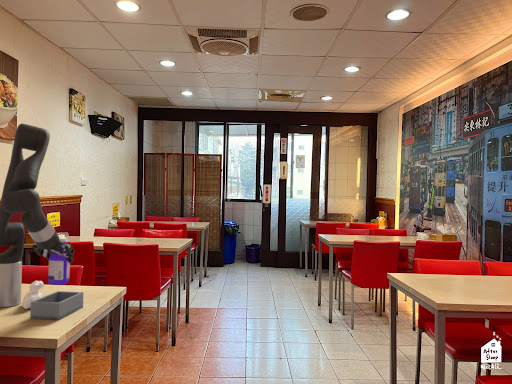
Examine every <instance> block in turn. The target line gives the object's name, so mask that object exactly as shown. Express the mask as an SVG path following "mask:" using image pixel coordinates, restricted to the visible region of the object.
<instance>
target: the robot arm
mask: <svg viewBox="0 0 512 384" xmlns="http://www.w3.org/2000/svg"><path fill="white" fill-rule="evenodd" d="M50 137H51V135H50V131H49V130H48V129H45V128H42V127H38V126H35V125H31V124H26V123H20V124H18V126H17V128H16V131H15V134H14V139H13V145H12V150H11V151H12V152H11V157H10V160H9V161H10V163H9V167H8V170H7V173H6V176H5V180H4V184H3V187H2V188H3V189H2V194H1V198H0V247H4V246H5V247H6V246H10V247H9V248H8V249H6V250H5V251H4V252H1V253H0V308H9V307H14V306H17V305H20V304H22V276H23V274H22V273H23V272H22V270H23V269H22V267H23V256H24V245H25V236H26V235H25V233H26V232H25V231H27V232H28V234H29V236H30V238H31V239H32V240H33V244H32V246H31V248H32V249H33V251H34V252H35V253H36V255H37V256H39V257H41V256H42V257H44V258H45V259H46V260H47V261H48V262H49V257H50V255H51V254H52V253H57V254H59V255H63V256H64V257H66V259H67V261H68V262H69V263H70V264H72V263H73V261H74V254H75V252H76V251H75V249H74V248H73V245H72V243H71V242H69V241H66V244H63V243H62V242H61V241H60V240H59V238H60V236H59V234H58V232H57V231H56V229H55V227H54V226H53V224H52V223H51V222H50V221H49V220H48V218H47V217H46V214H44V211H43V207H42V203H41V198H40V197H41V196H40V194H39V192H37V190H36V189H37V185H38V179H39V175H40V170H41V167H42V164H43V162H44V159H45V156H46V154H47V150H48V147H49V143H50ZM23 149H24V150H28V151H31V152H34V153H32V155H31V154H30V156H29V157H27V158H25V159H24V155H23ZM21 212H22V214H21V216H20V222H15V221H14V222H13V221H12V222H9V221H10V219H11V218H12V216H13V215H14V214H17V213H21ZM25 229H26V230H25ZM61 248H62V251H61V252H60V250H61ZM64 252H67V254H65V253H64Z"/></svg>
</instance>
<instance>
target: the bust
mask: <svg viewBox="0 0 512 384" xmlns="http://www.w3.org/2000/svg"><path fill="white" fill-rule="evenodd" d="M44 287H45V285H44V282H43V281H42V280H35V281H33V282H31V283H30V285H29V287H28V288H29V291H28V292H27V293H26V294H25V296H24V297H23V299H22V300H21V305H22V307H23V309H26V310H29V309H31V302H32V301H35V300H37V299H39V298H42V297H43V296H42V295H43V294H42V292H40V289H41V290H42V289H43V288H44Z"/></svg>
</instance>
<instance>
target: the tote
mask: <svg viewBox="0 0 512 384" xmlns="http://www.w3.org/2000/svg"><path fill="white" fill-rule="evenodd" d="M82 308H84V291H66V290H65V291H63V290H56V291H54V292H52V293H50V294H47V295H44V296H42V298H39V299H37V300H35V301H32V302H31V308H30V309H29V310H30V314H29V316H30V317H29V318H30V319H32V320H51V321H60V320H62V319H64V318H66V317H68V316H69V315H71V314H73V313H75V312H77V311H79V310H81V309H82Z"/></svg>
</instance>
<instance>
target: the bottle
mask: <svg viewBox="0 0 512 384" xmlns="http://www.w3.org/2000/svg"><path fill="white" fill-rule="evenodd" d="M59 240H60V241H61V242H62V243H63V244H66V243H67V238H66V237H59ZM61 251H62V248H61V250H60V252H61ZM64 253H65V254H67V252H64ZM70 267H71V263H69V262H68V261H67V259H66V257H64V256H63V255H59V254H57V253H51V255H50V257H49V261H48V272H47V273H48V279H47V281H48V284H49V285H54V286H62V285H66V284H68V283H69V280H70Z"/></svg>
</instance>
